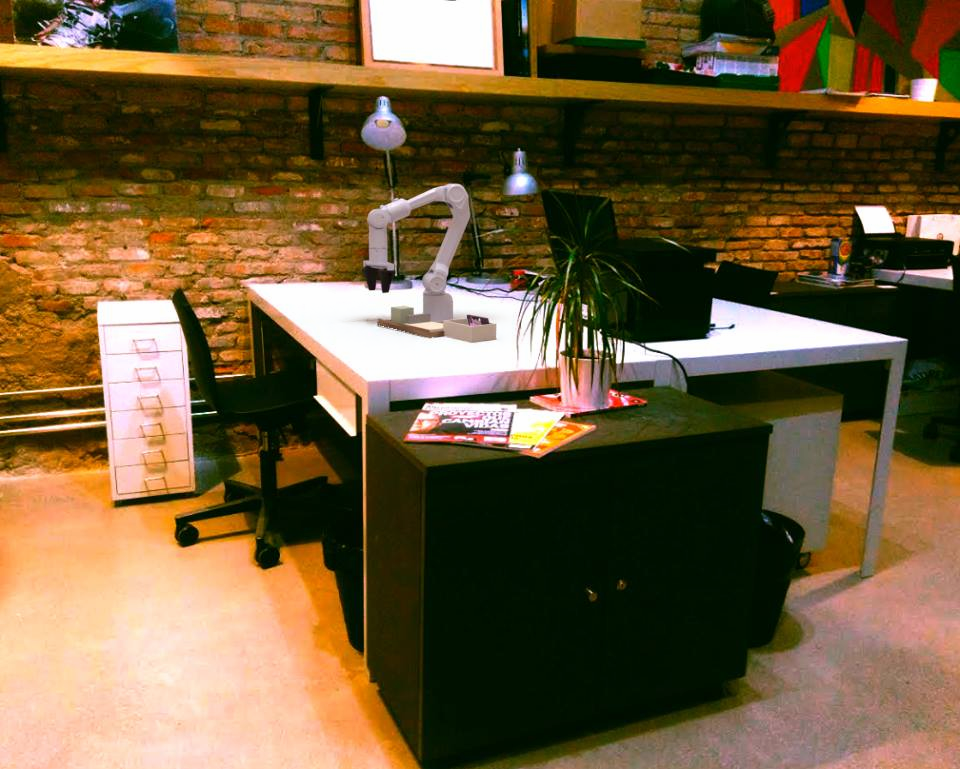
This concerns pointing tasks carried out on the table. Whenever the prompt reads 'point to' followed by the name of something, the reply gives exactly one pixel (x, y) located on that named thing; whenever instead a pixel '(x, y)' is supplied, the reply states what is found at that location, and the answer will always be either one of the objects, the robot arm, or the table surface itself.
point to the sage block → (401, 313)
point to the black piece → (482, 319)
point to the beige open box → (469, 330)
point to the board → (410, 328)
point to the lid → (423, 322)
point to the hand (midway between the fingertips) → (378, 291)
